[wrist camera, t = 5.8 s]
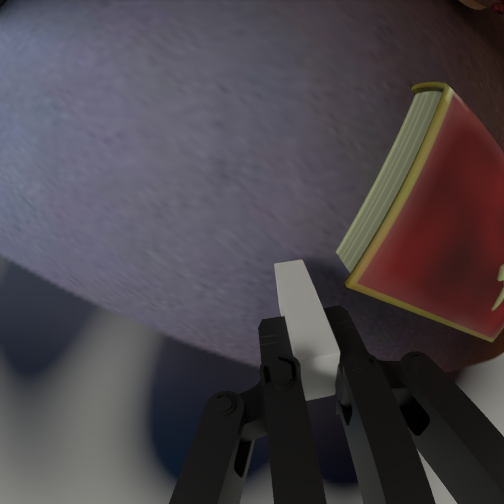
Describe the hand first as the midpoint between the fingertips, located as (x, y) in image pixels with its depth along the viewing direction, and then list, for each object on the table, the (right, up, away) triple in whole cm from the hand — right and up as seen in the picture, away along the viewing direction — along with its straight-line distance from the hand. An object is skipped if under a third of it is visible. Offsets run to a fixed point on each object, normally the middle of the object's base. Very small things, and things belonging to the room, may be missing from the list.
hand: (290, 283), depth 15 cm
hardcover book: (+14, +3, +2) cm, 15 cm away
